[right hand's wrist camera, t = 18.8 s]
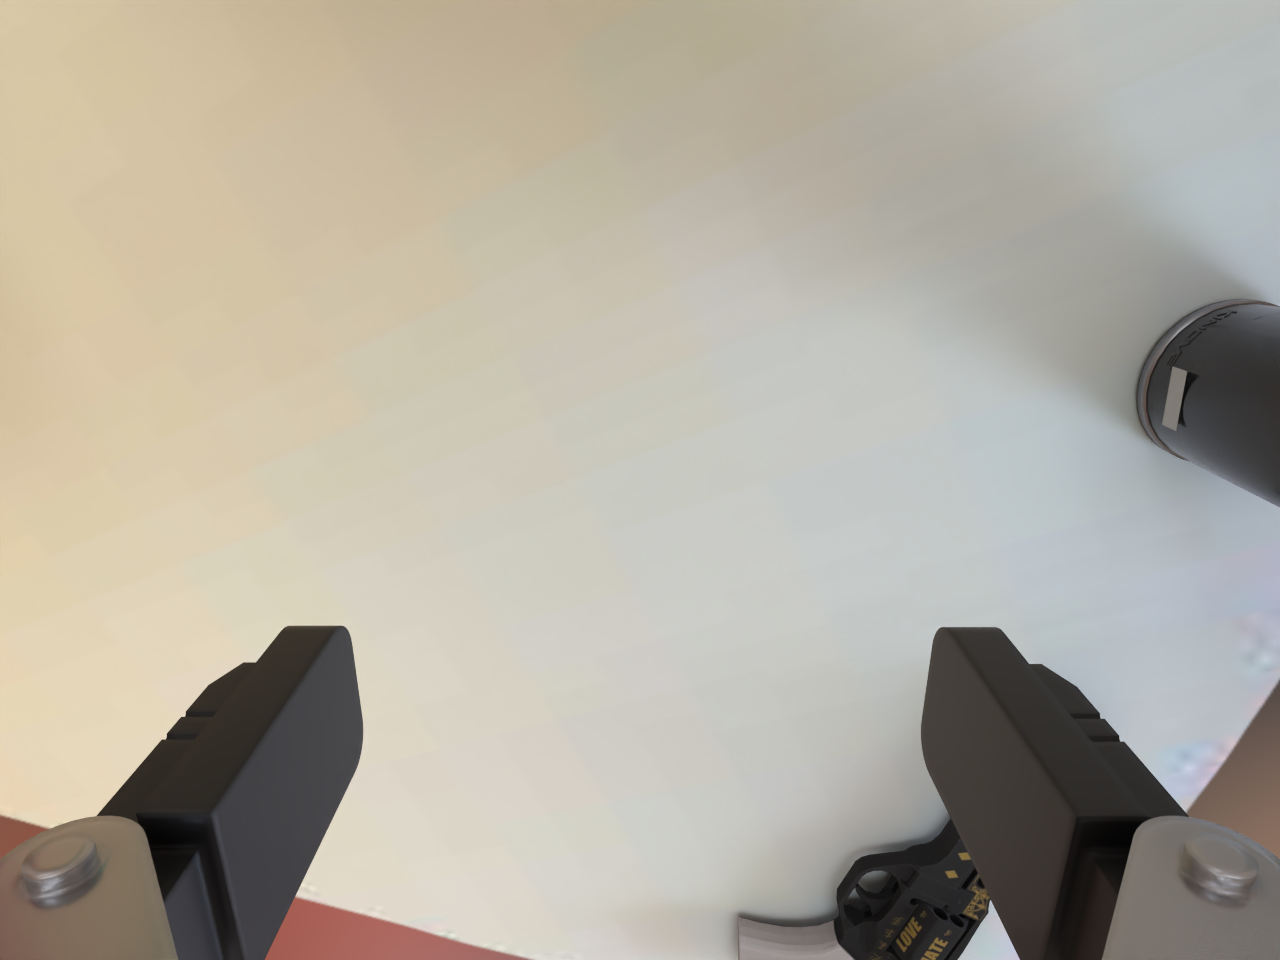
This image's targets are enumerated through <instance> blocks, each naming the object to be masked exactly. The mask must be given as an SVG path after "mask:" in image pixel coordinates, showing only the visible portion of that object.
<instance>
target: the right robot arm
mask: <svg viewBox="0 0 1280 960" xmlns="http://www.w3.org/2000/svg"><path fill="white" fill-rule="evenodd" d="M1137 403H1138V411H1139V416H1140V419H1141V422H1142V424H1143V427H1144V429H1145V430H1146V432H1147V434H1148V435H1149V436H1150V438H1151V439H1152V440H1153V441H1154V442H1155V443H1156V444H1157V445H1158V446H1159V447H1161V448H1162V449H1163V450H1165V451H1167V452H1169V453H1170V454H1172V455H1174V456H1176V457H1179V458H1181V459H1183V460H1186V461H1190V462H1192V463H1194V464H1196V465H1198V466H1200V467H1202V468H1204V469H1206V470H1208V471H1210V472H1211V473H1213V474H1215V475H1217V476H1219V477H1221V478H1223V479H1225V480H1227V481H1229V482H1231V483H1233V484H1235V485H1237V486H1239V487H1241V488H1243V489H1245V490H1247V491H1249V492H1251V493H1253V494H1255V495H1257V496H1259V497H1261V498H1263V499H1265V500H1266V501H1268V502H1270V503H1272V504H1274V505H1276V506H1278V507H1280V307H1279V306H1276V305H1273V304H1270V303H1266V302H1261V301H1256V300H1248V299H1237V300H1228V301H1222V302H1218V303H1215V304H1212V305H1209V306H1206V307H1204V308H1202V309H1199V310H1197V311H1195V312H1194V313H1192V314H1190V315H1188V316H1187V317H1185V318H1184V319H1183V320H1181V321H1180V322H1179V323H1177V324H1176V325H1175V326H1174V327H1172V328H1171V329H1170V330H1169V331H1168V332H1167V333H1166V334H1165V335H1164V337H1163V338H1162V339H1161V340H1160V341H1159V342H1158V344H1157V345H1156V346H1155V348H1154V349H1153V351H1152V352H1151V354H1150V356H1149V358H1148V360H1147V361H1146V364H1145V366H1144V368H1143V371H1142V374H1141V377H1140V381H1139V386H1138V395H1137ZM921 741H922V750H923V755H924V760H925V764H926V767H927V769H928V772H929V774H930V776H931V778H932V780H933V782H934V784H935V786H936V788H937V790H938V792H939V795H940V797H941V799H942V801H943V803H944V805H945V807H946V809H947V811H948V813H949V815H950V817H951V819H952V821H953V823H954V825H955V827H956V829H957V831H958V833H959V835H960V838H961V840H962V842H963V844H964V846H965V848H966V850H967V852H968V854H969V856H970V858H971V860H972V862H973V864H974V866H975V868H976V870H977V872H978V874H979V876H980V878H981V880H982V883H983V885H984V887H985V889H986V891H987V893H988V895H989V897H990V899H991V901H992V903H993V905H994V907H995V909H996V911H997V913H998V915H999V917H1000V919H1001V921H1002V923H1003V926H1004V928H1005V930H1006V932H1007V934H1008V936H1009V938H1010V940H1011V942H1012V944H1013V946H1014V948H1015V950H1016V952H1017V954H1018V956H1019V958H1020V960H1280V859H1279V858H1278V857H1277V856H1275V855H1274V854H1273V853H1271V852H1270V851H1269V850H1267V849H1266V848H1265V847H1263V846H1261V845H1260V844H1258V843H1256V842H1255V841H1253V840H1252V839H1250V838H1248V837H1246V836H1244V835H1242V834H1240V833H1238V832H1236V831H1234V830H1231V829H1229V828H1226V827H1224V826H1221V825H1218V824H1215V823H1212V822H1209V821H1205V820H1201V819H1197V818H1192V817H1189V816H1188V815H1187V814H1186V813H1185V811H1184V810H1183V809H1182V808H1181V807H1180V806H1179V805H1178V803H1177V802H1176V801H1175V800H1174V799H1173V798H1172V796H1171V795H1170V794H1169V793H1168V792H1167V791H1166V790H1165V788H1164V787H1163V786H1162V785H1161V784H1160V783H1159V781H1158V780H1157V779H1156V778H1155V777H1154V776H1153V774H1152V773H1151V772H1150V771H1149V770H1148V769H1147V768H1146V766H1145V765H1144V764H1143V763H1142V762H1141V761H1140V759H1139V758H1138V757H1137V756H1136V755H1135V754H1134V753H1133V751H1132V750H1131V749H1130V748H1129V747H1128V746H1127V744H1126V743H1125V742H1120V740H1119V735H1118V734H1117V733H1116V732H1115V731H1114V729H1113V728H1112V727H1111V726H1110V725H1109V724H1108V722H1107V721H1106V720H1105V719H1100V713H1099V712H1098V711H1097V710H1096V709H1095V707H1094V706H1093V705H1092V704H1091V703H1090V702H1089V700H1088V699H1087V698H1086V697H1085V696H1084V695H1083V694H1082V692H1081V691H1080V690H1079V689H1078V688H1077V687H1076V686H1075V685H1073V684H1071V683H1070V682H1068V681H1067V680H1065V679H1064V678H1062V677H1061V676H1059V675H1058V674H1056V673H1054V672H1053V671H1051V670H1050V669H1048V668H1047V667H1045V666H1044V665H1042V664H1029V663H1028V662H1027V661H1026V660H1025V658H1024V657H1023V656H1022V655H1021V653H1020V652H1019V651H1018V650H1017V648H1016V647H1015V646H1014V645H1013V643H1012V642H1011V641H1010V640H1009V638H1008V637H1007V636H1006V635H1005V634H1004V632H1003V631H1002V630H1001V629H999V628H996V627H942V628H940V629H938V631H937V632H936V634H935V637H934V640H933V645H932V652H931V659H930V666H929V673H928V680H927V687H926V694H925V701H924V709H923V716H922V724H921ZM362 742H363V720H362V712H361V705H360V698H359V691H358V683H357V676H356V669H355V662H354V655H353V647H352V641H351V637H350V634H349V632H348V630H347V628H345V627H344V626H287V627H285V628H284V629H283V630H282V631H281V632H280V633H279V634H278V636H277V637H276V638H275V639H274V641H273V642H272V643H271V644H270V646H269V647H268V648H267V650H266V651H265V652H264V653H263V655H262V656H261V657H260V658H259V660H258V661H257V662H256V663H242V664H241V665H239V666H238V667H236V668H234V669H233V670H231V671H230V672H228V673H227V674H225V675H224V676H222V677H221V678H219V679H217V680H216V681H214V682H213V683H211V684H210V685H208V686H207V688H206V689H205V690H204V691H203V692H202V693H201V695H200V696H199V697H198V698H197V699H196V700H195V702H194V703H193V704H192V705H191V706H190V707H189V709H188V710H187V711H186V716H185V717H181V718H180V719H179V720H178V721H177V723H176V724H175V725H174V726H173V727H172V728H171V730H170V731H169V732H168V733H167V738H166V740H161V741H160V743H159V744H158V745H157V746H156V747H155V748H154V750H153V751H152V752H151V753H150V754H149V755H148V757H147V758H146V759H145V760H144V761H143V762H142V764H141V765H140V766H139V767H138V768H137V769H136V771H135V772H134V773H133V774H132V775H131V776H130V778H129V779H128V780H127V781H126V782H125V783H124V785H123V786H122V787H121V788H120V789H119V790H118V792H117V793H116V794H115V795H114V796H113V797H112V799H111V800H110V801H109V802H108V803H107V804H106V806H105V807H104V808H103V809H102V810H101V811H100V813H99V814H98V815H97V816H95V817H88V818H83V819H79V820H74V821H71V822H68V823H65V824H62V825H59V826H56V827H54V828H51V829H49V830H46V831H44V832H42V833H40V834H38V835H36V836H34V837H32V838H30V839H28V840H27V841H25V842H23V843H22V844H20V845H19V846H17V847H15V848H14V849H13V850H11V851H10V852H9V853H7V854H6V855H5V856H3V857H2V858H1V859H0V960H264V959H265V957H266V955H267V953H268V951H269V949H270V947H271V945H272V943H273V941H274V939H275V937H276V935H277V933H278V930H279V928H280V926H281V924H282V922H283V920H284V918H285V916H286V914H287V912H288V910H289V908H290V906H291V904H292V902H293V899H294V897H295V895H296V893H297V891H298V889H299V887H300V885H301V883H302V881H303V879H304V877H305V875H306V872H307V870H308V868H309V866H310V864H311V862H312V860H313V858H314V856H315V854H316V852H317V850H318V848H319V846H320V843H321V841H322V839H323V837H324V835H325V833H326V831H327V829H328V827H329V825H330V823H331V821H332V819H333V817H334V814H335V812H336V810H337V808H338V806H339V804H340V802H341V800H342V798H343V796H344V794H345V792H346V790H347V788H348V785H349V783H350V781H351V779H352V777H353V775H354V773H355V771H356V768H357V766H358V763H359V759H360V755H361V750H362Z"/></svg>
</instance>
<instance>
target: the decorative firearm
mask: <svg viewBox="0 0 1280 960" xmlns="http://www.w3.org/2000/svg"><path fill="white" fill-rule="evenodd" d="M881 870H882V871H885V872H888V873H891V874H892V875H893V876H892V877H891V879H890V880H889V882H888V883H887V885H886V886H885V887H884V888H883V890H882V891H881V892H880V893H871V892H867V891H865V890H864V889H863V888H862V887H861V886H860V885H859V884H858V882H859V880H860V879H861V877H862V876H863V875H865V874H866V873H868V872H871V871H881ZM854 888H856V892H857V893H858V895H859V896H860V897H861V898H862V899H863V900H864V901H865V902H866V903H867V904H868V906H866V907H865V908H863V909H859V908H855V907H853V906H852V905H850V904H844V902H845V901H846V899H847V898H848V896H849V895H850V894H851V892H852V891H853V889H854ZM990 900H991V899H990V897H989V895H988V893H987V891H986V889H985V887H984V885H983V883H982V880H981V878H980V876H979V874H978V872H977V870H976V868H975V866H974V864H973V862H972V860H971V858H970V856H969V854H968V852H967V850H966V848H965V846H964V844H963V842H962V840H961V838H960V835H959V833H958V831H957V829H956V827H955V825H954V823H953V821H952V819H950V820H949V822H948V823H947V825H946V826H945V828H944V829H943V831H942V832H941V833H940V835H938V836H937V837H936V838H935V839H934V840H932V841H931V842H929V843H925V844H920V845H915V846H912V847H910V848H908V849H906V850H905V851H900V852H890V853H880V854H871V855H867V856H863V857H861V858H859V859H858V860H856V861H855V863H854V864H853V866H852V867H851V869H850V870H849V872H848V873H847V875H846V876H845V878H844V879H843V881H842V882H841V884H840V885H839V887H838V888H837V903H838V907H839V916H838V917H837V918H836V919H835V920H832V921H830V922H827V923H824V924H821V925H817V926H807V927H783V926H777V925H771V924H765V923H760V922H756V921H752V920H748V919H744V918H740V917H738V957H739V960H957V959H958V958H959V957H960V955H961V954H962V953H963V951H964V949H965V948H966V946H967V945H968V943H969V941H970V940H971V938H972V936H973V935H974V933H975V932H976V930H977V928H978V927H979V925H980V923H981V922H982V921H983V919H984V918H985V917H986V915H987V914H988V907H989V902H990Z"/></svg>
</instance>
